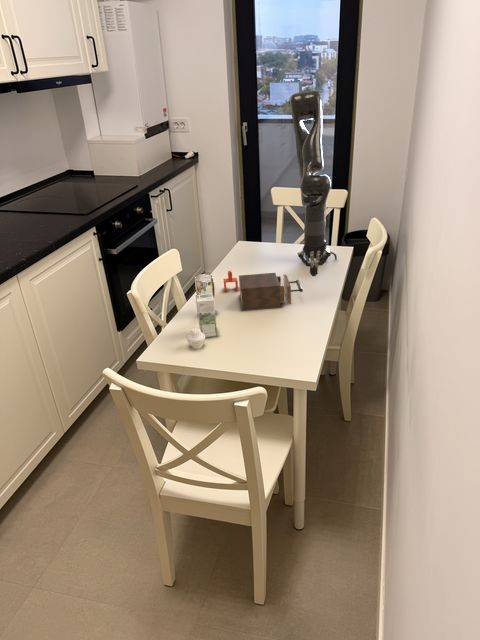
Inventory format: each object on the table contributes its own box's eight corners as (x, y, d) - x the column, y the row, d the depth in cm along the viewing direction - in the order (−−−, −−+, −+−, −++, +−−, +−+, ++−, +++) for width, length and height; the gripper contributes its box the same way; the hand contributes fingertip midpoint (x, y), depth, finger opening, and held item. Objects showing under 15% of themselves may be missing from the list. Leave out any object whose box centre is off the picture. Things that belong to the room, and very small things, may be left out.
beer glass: (220, 313, 188) (217, 276, 180) (207, 320, 184) (203, 283, 176) (208, 308, 192) (204, 272, 184) (194, 314, 188) (190, 278, 180)
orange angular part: (237, 288, 207) (236, 269, 203) (238, 291, 205) (236, 272, 200) (224, 289, 207) (222, 270, 202) (224, 292, 204) (223, 273, 200)
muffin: (190, 341, 171) (188, 323, 168) (207, 342, 171) (205, 324, 167) (186, 351, 166) (183, 332, 162) (204, 351, 165) (202, 333, 162)
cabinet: (276, 293, 201) (275, 272, 197) (280, 307, 191) (279, 285, 186) (240, 296, 200) (238, 275, 196) (242, 310, 190) (241, 288, 185)
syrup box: (215, 328, 178) (211, 291, 171) (217, 336, 173) (214, 299, 166) (199, 331, 177) (195, 294, 170) (201, 339, 172) (197, 301, 165)
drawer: (298, 290, 201) (298, 273, 197) (303, 302, 191) (303, 285, 188) (253, 293, 200) (252, 277, 196) (256, 306, 190) (255, 289, 186)
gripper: (298, 236, 179) (298, 280, 188) (334, 233, 180) (332, 278, 189) (295, 229, 186) (295, 273, 195) (329, 227, 187) (328, 270, 196)
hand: (313, 275), depth 192 cm, fingers closed
